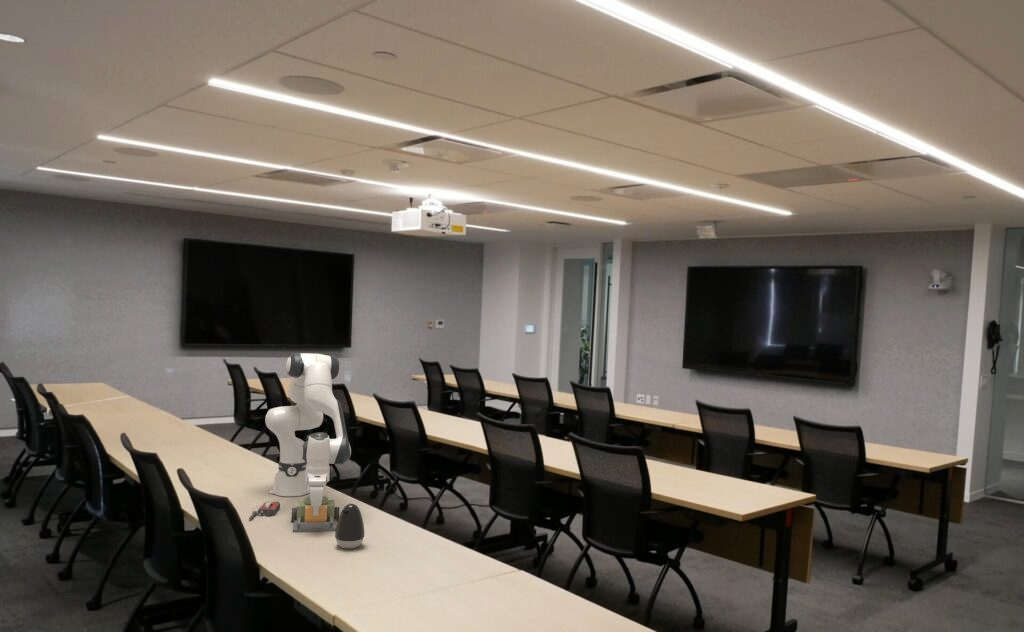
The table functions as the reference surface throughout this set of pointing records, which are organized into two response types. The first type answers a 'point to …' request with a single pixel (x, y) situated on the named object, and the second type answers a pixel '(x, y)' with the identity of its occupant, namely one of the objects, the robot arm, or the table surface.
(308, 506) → the orange cardboard box
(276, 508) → the walkie-talkie
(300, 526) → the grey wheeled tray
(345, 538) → the pump dispenser
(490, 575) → the table surface
